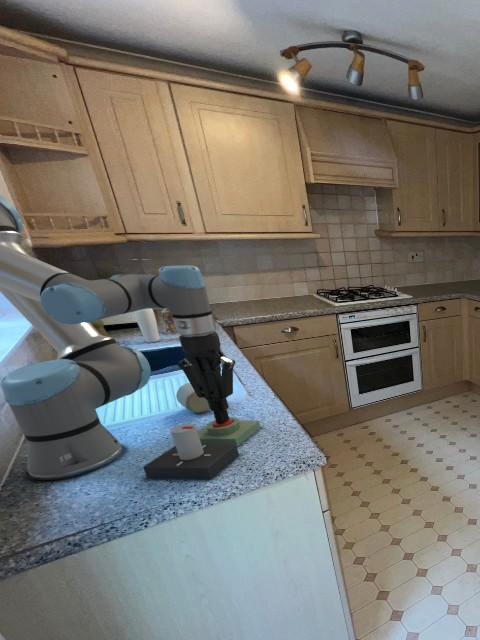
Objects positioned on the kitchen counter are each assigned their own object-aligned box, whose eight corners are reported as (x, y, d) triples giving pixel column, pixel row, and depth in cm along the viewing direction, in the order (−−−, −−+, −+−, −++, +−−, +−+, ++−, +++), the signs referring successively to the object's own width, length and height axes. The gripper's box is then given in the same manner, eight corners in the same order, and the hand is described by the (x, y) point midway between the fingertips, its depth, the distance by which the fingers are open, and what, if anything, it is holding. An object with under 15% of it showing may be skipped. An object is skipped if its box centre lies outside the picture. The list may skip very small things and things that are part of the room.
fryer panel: (147, 478, 89) (142, 466, 88) (181, 454, 98) (178, 443, 97) (210, 479, 89) (206, 467, 88) (239, 455, 98) (236, 444, 97)
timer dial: (174, 460, 90) (164, 431, 88) (189, 449, 94) (180, 422, 92) (194, 460, 90) (185, 431, 88) (208, 450, 94) (199, 422, 92)
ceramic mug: (189, 417, 116) (182, 393, 113) (179, 409, 120) (172, 386, 118) (230, 406, 124) (225, 382, 121) (220, 399, 128) (214, 376, 126)
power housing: (190, 445, 102) (185, 431, 100) (217, 427, 111) (213, 414, 110) (237, 446, 102) (233, 432, 100) (260, 427, 111) (257, 414, 110)
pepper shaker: (114, 343, 181) (105, 319, 177) (96, 346, 177) (86, 321, 173) (109, 341, 184) (100, 317, 180) (91, 344, 180) (82, 320, 176)
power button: (211, 431, 104) (209, 425, 103) (222, 424, 107) (220, 418, 107) (227, 432, 104) (225, 425, 103) (237, 424, 107) (235, 418, 107)
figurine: (160, 333, 200) (153, 308, 195) (175, 329, 206) (168, 306, 202) (170, 334, 198) (163, 310, 193) (185, 331, 204) (178, 307, 200)
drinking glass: (162, 338, 190) (152, 307, 185) (162, 341, 186) (152, 309, 180) (143, 341, 186) (132, 308, 181) (143, 344, 182) (132, 311, 176)
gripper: (157, 336, 93) (187, 427, 101) (214, 337, 93) (239, 428, 101) (182, 328, 99) (208, 414, 108) (235, 329, 100) (256, 415, 108)
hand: (223, 421), depth 105 cm, fingers closed
